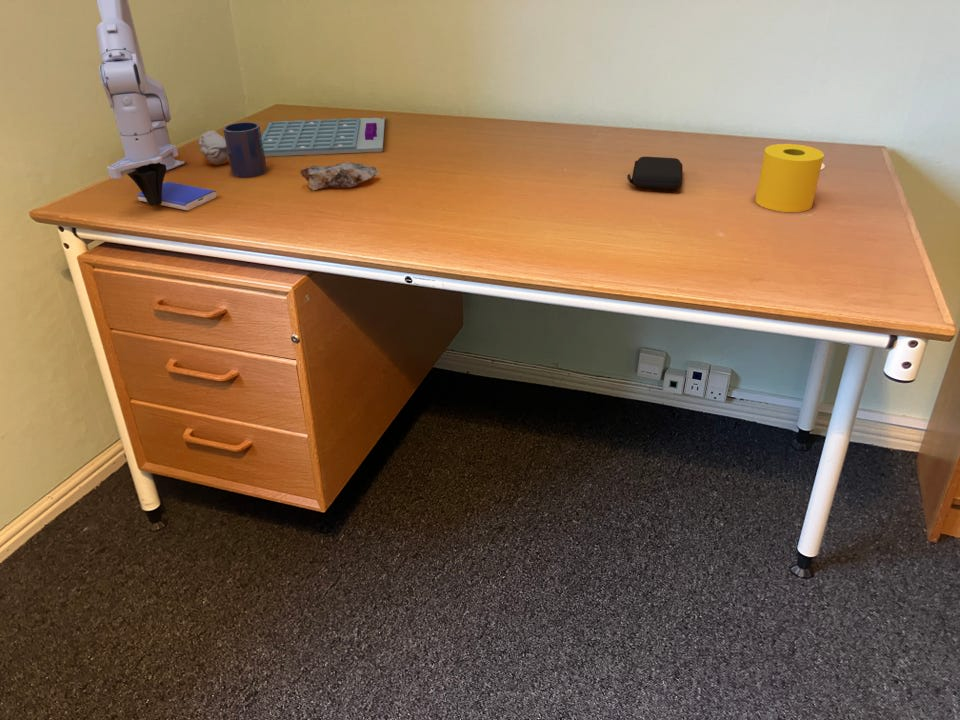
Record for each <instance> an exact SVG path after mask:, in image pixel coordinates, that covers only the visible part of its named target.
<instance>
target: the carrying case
mask: <svg viewBox="0 0 960 720" xmlns="http://www.w3.org/2000/svg"><path fill="white" fill-rule="evenodd" d="M683 167H684V166H683V163H682V162H681V160H680V159H678V158H676V157H663V156H641V157H639V158H638V159H637V160H635V161H634V165H633V170H632V174H631V175H632V176H631V175H630V173H628V174H627V175H626V178H627V181H628V182H629V184H631V185H633V186H634V187H635V189H636V190H640V191H651V192H666V193H676V192H677V191H679V189H681V188H682V186H683V172H684V171H683Z"/></svg>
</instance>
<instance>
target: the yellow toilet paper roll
mask: <svg viewBox="0 0 960 720" xmlns="http://www.w3.org/2000/svg"><path fill="white" fill-rule="evenodd" d="M824 154H825V153H824V152H823V151H821V150H820V149H818V148H815V147H812V146H810V145H804V144H798V143H797V144H796V143H777V144H771V145H768V146H766V147H765V148H764V152H763V157H762V162H761V168H760V172H759V178H758V184H757V189H756V192H755V193H756V194H755V203H757V205H758V206H761V207H762V208H764V209H768V210H771V211H776V212H781V213H782V212H783V213H800V212H801V213H802V212H805V211H808V210H810V209H811V208H812V207H813V203H814V199H815V194H816V190H817V186H818V183H819V178H820V174H821V169H822V165H823V160H824V156H825V155H824Z"/></svg>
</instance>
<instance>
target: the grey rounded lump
mask: <svg viewBox="0 0 960 720" xmlns="http://www.w3.org/2000/svg"><path fill="white" fill-rule="evenodd" d="M198 147H199V149H200V152H201V154H203V156H204V158H205V159H206V160H207V162H209V163H210V164H212V165H214V166H215V165H216V166H220V165H223V164H224V163H226V162H227V161H228V160H229V156H228V151H227V146H226V141H225V137H224V136H222V135H220V134H219V133H218V132H217V131H216V130H208V131H205V132H204V133H201V134H200V137H199V139H198Z"/></svg>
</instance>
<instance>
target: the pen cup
mask: <svg viewBox="0 0 960 720" xmlns="http://www.w3.org/2000/svg"><path fill="white" fill-rule="evenodd" d="M222 130H223V135H224V136H223V137H224V138H225V141H226V146H227V151H228V156H229V157H228V161H229V166H230V171H231V174H232V176H233V177H236V178H241V179H242V178H243V179H246V178H256V177H259V176H263V175H264V174H266V173H267V172H268V167H267V163H266V162H267V161H266V157H265V155H264V149H263V143H262V132H261V126H260V124H259V123H257V122H252V121H242V122H241V121H240V122H235V123H230V124H227V125H225V126H224V127H222Z"/></svg>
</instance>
